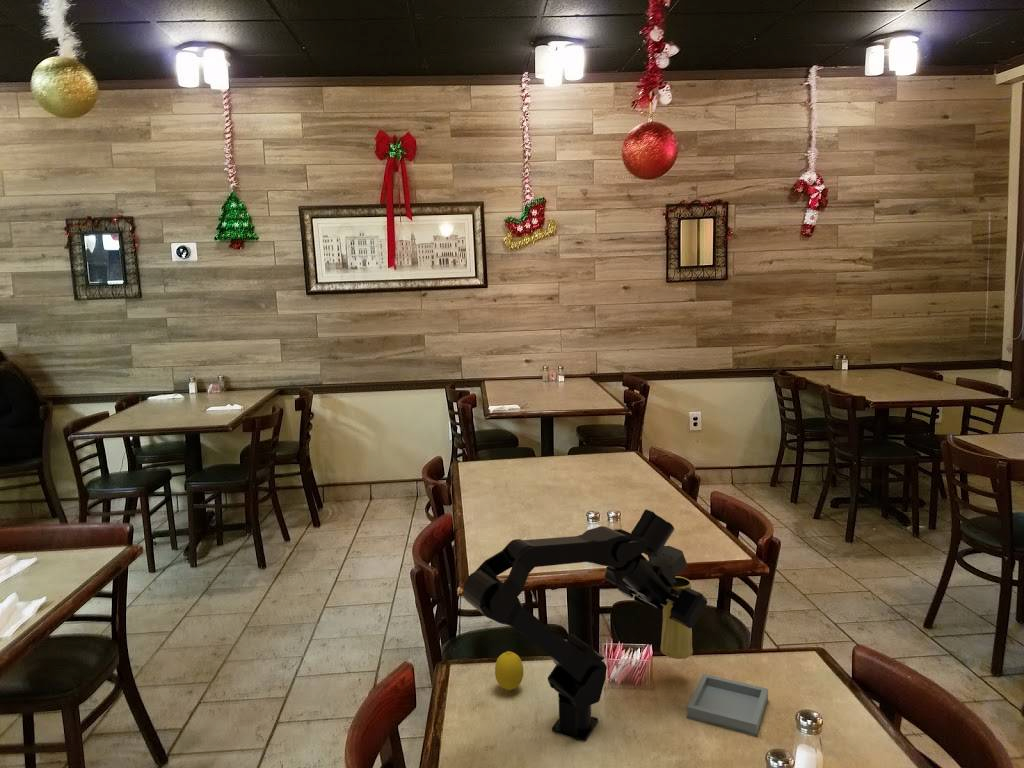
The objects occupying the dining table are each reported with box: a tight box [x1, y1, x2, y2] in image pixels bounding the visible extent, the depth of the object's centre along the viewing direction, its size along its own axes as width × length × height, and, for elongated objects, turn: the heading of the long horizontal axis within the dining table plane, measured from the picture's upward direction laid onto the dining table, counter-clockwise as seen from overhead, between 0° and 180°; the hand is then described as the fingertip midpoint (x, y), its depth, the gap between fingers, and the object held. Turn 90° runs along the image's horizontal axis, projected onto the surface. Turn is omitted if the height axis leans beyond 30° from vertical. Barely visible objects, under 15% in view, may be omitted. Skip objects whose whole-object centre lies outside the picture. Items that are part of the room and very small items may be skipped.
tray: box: [686, 673, 769, 738], centre depth 127 cm, size 12×12×2 cm
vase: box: [660, 575, 694, 660], centre depth 135 cm, size 6×6×14 cm
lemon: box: [494, 650, 524, 692], centre depth 135 cm, size 6×6×8 cm
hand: (682, 614), depth 136 cm, fingers closed on vase, 5 cm apart
